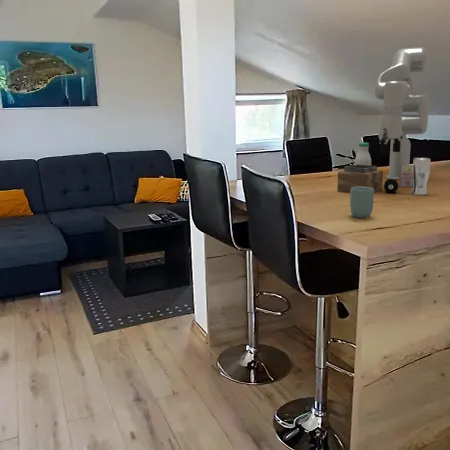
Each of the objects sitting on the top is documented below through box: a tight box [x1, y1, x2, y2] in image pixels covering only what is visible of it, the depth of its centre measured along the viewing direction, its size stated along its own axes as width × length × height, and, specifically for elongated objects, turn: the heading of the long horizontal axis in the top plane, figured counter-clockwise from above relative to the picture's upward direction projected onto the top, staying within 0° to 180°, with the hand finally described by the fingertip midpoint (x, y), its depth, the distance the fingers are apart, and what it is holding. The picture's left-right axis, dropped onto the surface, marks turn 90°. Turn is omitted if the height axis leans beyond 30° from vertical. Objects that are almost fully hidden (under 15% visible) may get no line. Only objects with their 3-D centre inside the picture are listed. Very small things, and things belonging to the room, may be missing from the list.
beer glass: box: [411, 157, 431, 196], centre depth 203 cm, size 7×7×15 cm
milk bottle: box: [354, 142, 372, 166], centre depth 228 cm, size 8×8×20 cm
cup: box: [349, 187, 375, 219], centre depth 167 cm, size 8×8×10 cm
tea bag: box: [398, 164, 413, 188], centre depth 222 cm, size 4×7×10 cm, turn 70°
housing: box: [337, 164, 384, 193], centre depth 215 cm, size 14×14×11 cm
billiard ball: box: [383, 178, 399, 194], centre depth 209 cm, size 6×6×6 cm
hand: (390, 152), depth 206 cm, fingers open, 9 cm apart
